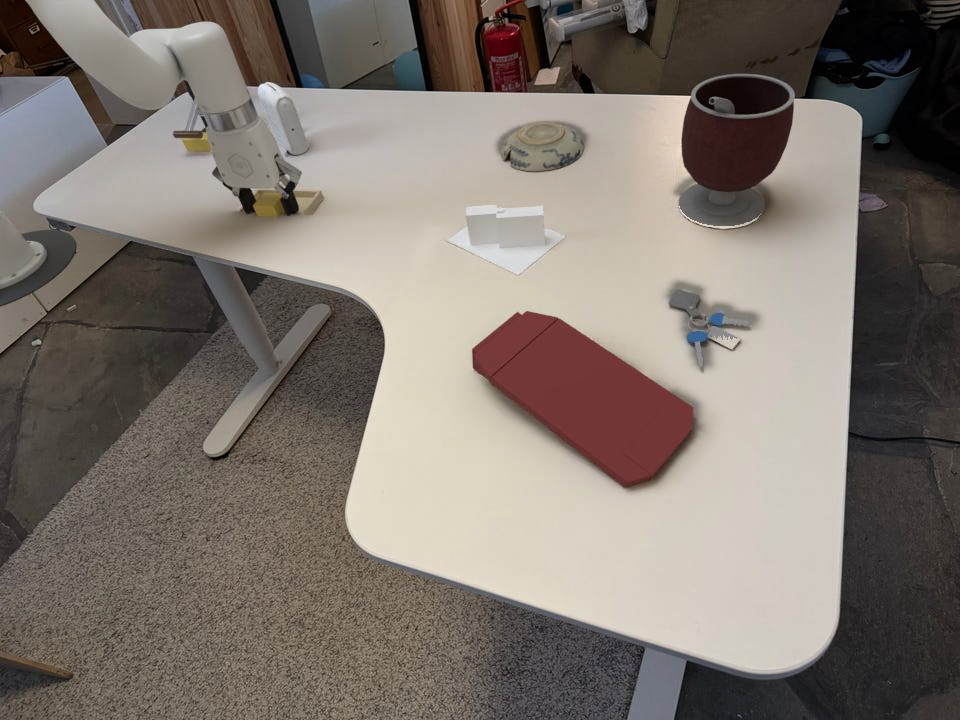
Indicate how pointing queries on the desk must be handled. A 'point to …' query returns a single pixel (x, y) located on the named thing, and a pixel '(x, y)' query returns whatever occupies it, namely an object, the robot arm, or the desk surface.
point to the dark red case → (585, 395)
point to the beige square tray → (304, 198)
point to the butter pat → (269, 205)
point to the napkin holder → (506, 235)
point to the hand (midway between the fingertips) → (273, 212)
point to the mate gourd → (733, 145)
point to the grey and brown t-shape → (190, 124)
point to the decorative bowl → (542, 147)
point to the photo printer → (282, 118)
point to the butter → (197, 143)
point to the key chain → (718, 319)
